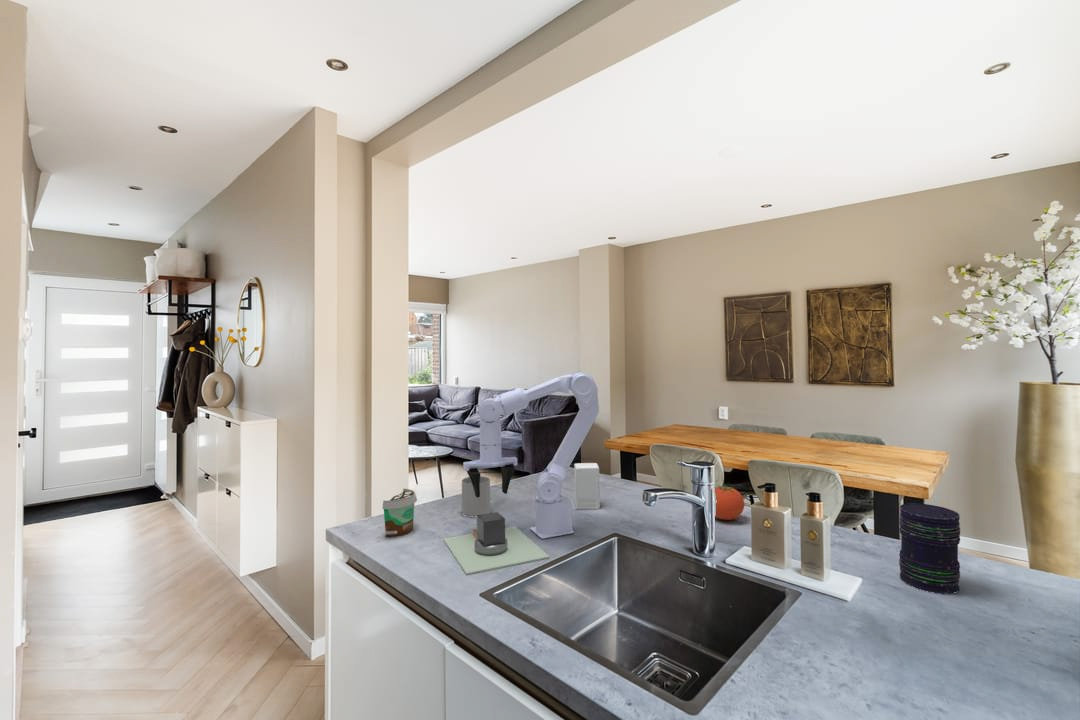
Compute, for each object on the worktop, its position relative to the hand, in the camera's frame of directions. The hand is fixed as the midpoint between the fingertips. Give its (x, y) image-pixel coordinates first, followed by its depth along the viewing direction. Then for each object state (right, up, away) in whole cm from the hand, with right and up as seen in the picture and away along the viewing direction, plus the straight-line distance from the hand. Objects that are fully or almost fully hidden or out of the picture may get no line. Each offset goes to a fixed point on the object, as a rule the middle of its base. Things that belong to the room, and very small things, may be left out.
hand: (491, 494), depth 134 cm
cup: (-6, -10, +17) cm, 21 cm away
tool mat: (+2, -11, -10) cm, 15 cm away
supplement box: (+28, -10, +22) cm, 37 cm away
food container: (-24, -11, +3) cm, 26 cm away
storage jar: (+93, -10, -31) cm, 98 cm away
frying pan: (0, -10, -8) cm, 13 cm away
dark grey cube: (+1, -8, -12) cm, 14 cm away
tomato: (+66, -9, +9) cm, 67 cm away
